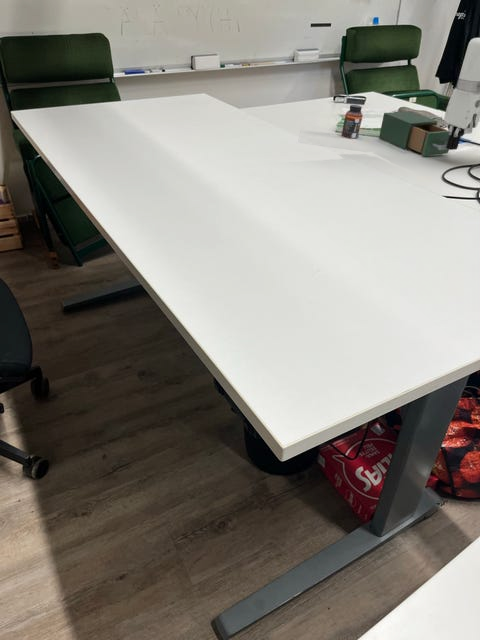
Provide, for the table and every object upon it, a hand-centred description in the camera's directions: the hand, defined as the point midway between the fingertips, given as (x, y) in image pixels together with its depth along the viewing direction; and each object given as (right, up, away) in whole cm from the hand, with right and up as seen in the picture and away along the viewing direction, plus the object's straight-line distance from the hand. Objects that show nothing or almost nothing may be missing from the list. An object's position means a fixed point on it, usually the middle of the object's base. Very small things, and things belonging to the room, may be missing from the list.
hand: (451, 148), depth 153 cm
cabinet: (-9, +9, +19) cm, 23 cm away
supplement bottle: (-28, +11, +21) cm, 37 cm away
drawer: (-4, +3, +10) cm, 11 cm away
